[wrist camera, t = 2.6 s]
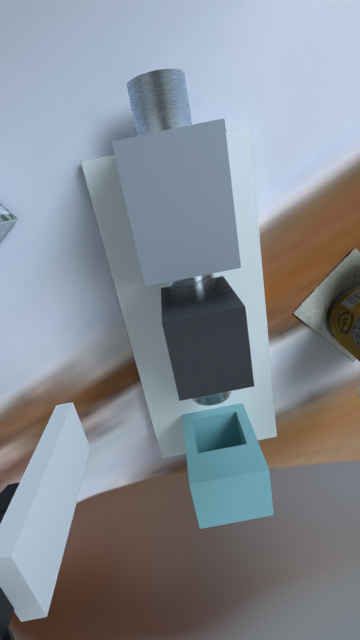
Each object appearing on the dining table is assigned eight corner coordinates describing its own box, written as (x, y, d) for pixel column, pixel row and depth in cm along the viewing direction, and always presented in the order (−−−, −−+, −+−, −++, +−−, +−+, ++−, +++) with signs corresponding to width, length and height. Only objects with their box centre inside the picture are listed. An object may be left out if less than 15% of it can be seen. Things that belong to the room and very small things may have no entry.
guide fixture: (83, 162, 24) (43, 149, 15) (246, 129, 23) (294, 98, 15) (161, 451, 34) (163, 535, 26) (273, 429, 34) (310, 508, 26)
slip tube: (121, 95, 20) (96, 34, 12) (190, 81, 20) (212, 11, 12) (183, 385, 29) (193, 464, 21) (232, 376, 29) (261, 451, 21)
